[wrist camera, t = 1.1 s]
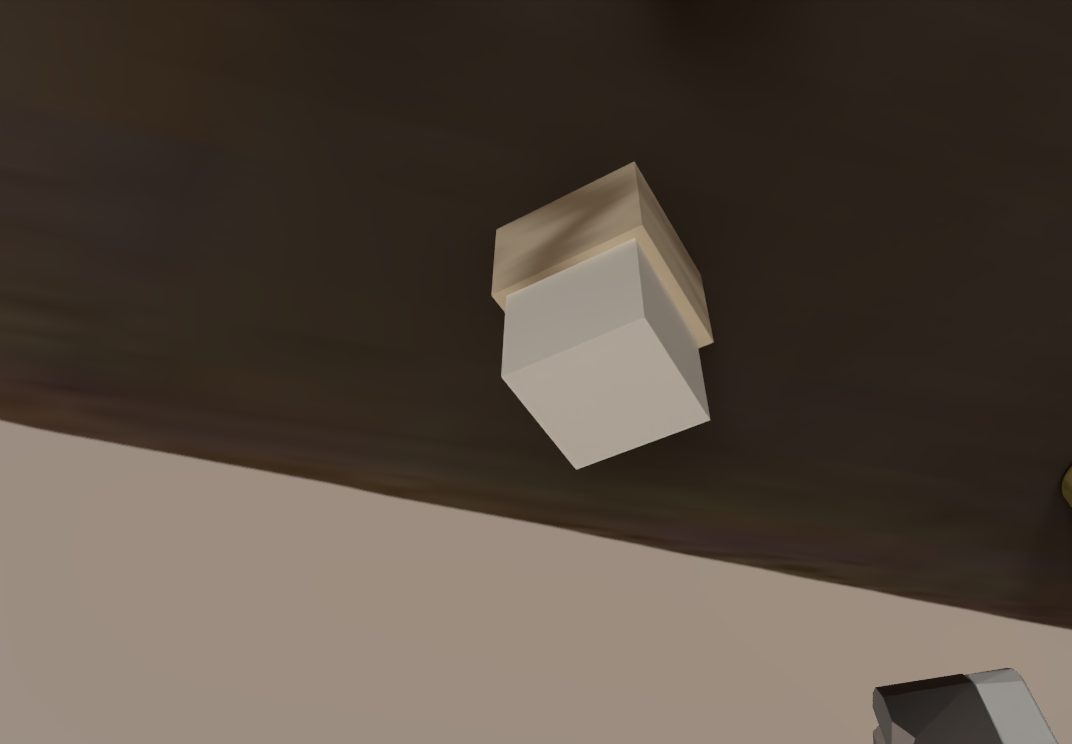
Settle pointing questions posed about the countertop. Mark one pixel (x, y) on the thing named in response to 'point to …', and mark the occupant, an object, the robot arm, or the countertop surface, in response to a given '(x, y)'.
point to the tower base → (600, 242)
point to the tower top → (603, 356)
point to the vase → (1067, 486)
